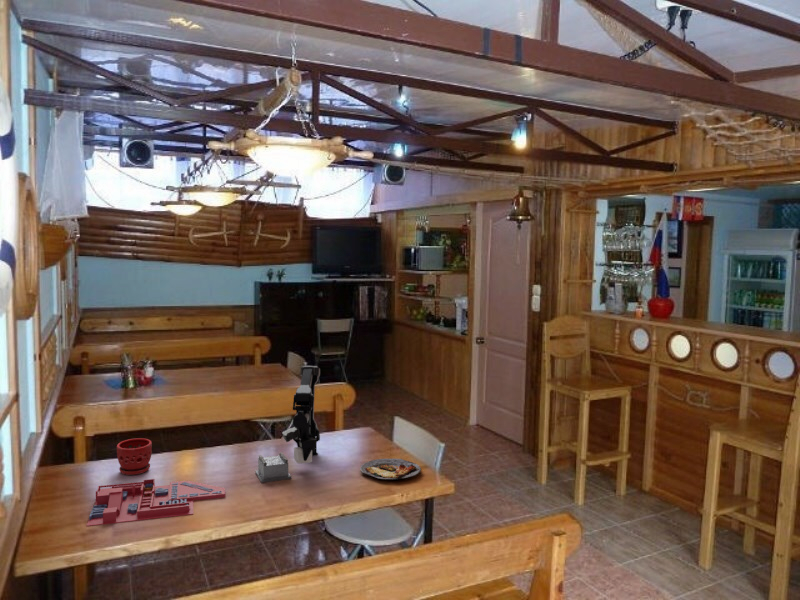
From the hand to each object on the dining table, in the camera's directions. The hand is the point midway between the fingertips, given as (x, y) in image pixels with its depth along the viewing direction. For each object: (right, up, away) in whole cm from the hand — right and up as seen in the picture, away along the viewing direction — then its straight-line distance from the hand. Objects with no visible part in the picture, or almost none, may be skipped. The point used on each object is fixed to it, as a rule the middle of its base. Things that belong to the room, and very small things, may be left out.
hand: (303, 458), depth 256 cm
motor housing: (-11, -5, -7) cm, 14 cm away
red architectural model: (-46, -8, -34) cm, 58 cm away
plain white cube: (0, -1, 0) cm, 1 cm away
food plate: (+37, -6, 0) cm, 37 cm away
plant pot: (-68, -4, -5) cm, 68 cm away
